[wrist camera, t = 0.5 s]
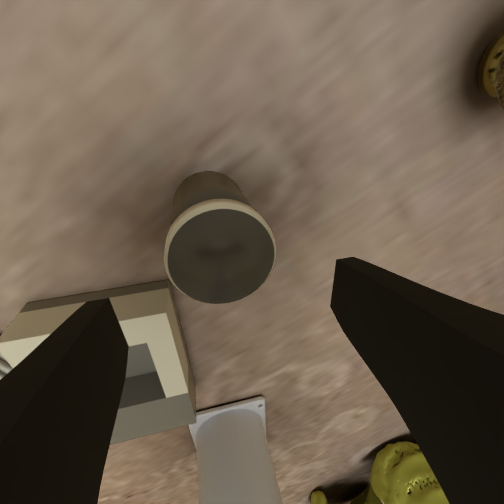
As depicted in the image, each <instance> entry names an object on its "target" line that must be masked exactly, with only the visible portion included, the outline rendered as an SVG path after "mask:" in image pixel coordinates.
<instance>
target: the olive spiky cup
mask: <svg viewBox="0 0 504 504" xmlns="http://www.w3.org/2000/svg"><path fill="white" fill-rule="evenodd" d="M477 82H478V86H479V88H480V90H481V91H482V92H483V93H485V94H486V95H488V96H490V97H493V98H498V100H499V103H500V105H501V106H502V107H503V108H504V32H503V33H502V34H500V35H499V36H498V37H497V38H496V39H495V40H494V41H493V42H492V43H491V44H490V45H489V46H488V48H487V49H486V51H485V53H484V54H483V56H482V59H481V61H480V64H479V67H478V72H477Z"/></svg>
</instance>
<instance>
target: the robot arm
mask: <svg viewBox="0 0 504 504" xmlns="http://www.w3.org/2000/svg"><path fill="white" fill-rule="evenodd" d="M330 307H331V309H332V311H333V313H334V315H335V317H336V319H337V321H338V322H339V324H340V326H341V328H342V330H343V332H344V333H345V335H346V336H347V337H348V339H349V340H350V342H351V343H352V345H353V346H354V348H355V349H356V350H357V352H358V353H359V355H360V356H361V357H362V359H363V360H364V362H365V363H366V364H367V366H368V367H369V369H370V370H371V371H372V373H373V374H374V376H375V377H376V379H377V380H378V381H379V383H380V384H381V386H382V387H383V388H384V390H385V391H386V393H387V394H388V396H389V397H390V399H391V400H392V402H393V403H394V405H395V406H396V408H397V410H398V411H399V413H400V415H401V417H402V418H403V420H404V422H405V423H406V425H407V427H408V429H409V430H410V432H411V434H412V435H413V437H414V439H415V441H416V442H417V444H418V446H419V448H420V450H421V451H422V453H423V455H424V457H425V459H426V461H427V462H428V464H429V466H430V468H431V470H432V471H433V473H434V475H435V477H436V479H437V480H438V482H439V484H440V486H441V488H442V490H443V492H444V494H445V496H446V498H447V500H448V502H449V504H504V315H502V314H499V313H496V312H493V311H490V310H487V309H484V308H481V307H478V306H475V305H472V304H469V303H467V302H464V301H461V300H459V299H456V298H453V297H451V296H448V295H446V294H443V293H440V292H438V291H435V290H433V289H430V288H428V287H425V286H423V285H421V284H418V283H416V282H413V281H411V280H409V279H406V278H404V277H402V276H399V275H397V274H395V273H392V272H390V271H388V270H385V269H383V268H381V267H378V266H376V265H373V264H371V263H369V262H366V261H363V260H361V259H358V258H355V257H349V258H343V259H337V260H336V267H335V274H334V282H333V290H332V297H331V305H330ZM128 349H129V346H128V343H127V341H126V338H125V336H124V334H123V331H122V329H121V326H120V324H119V321H118V319H117V316H116V314H115V311H114V309H113V306H112V304H111V301H110V299H109V298H105V299H99V300H93V301H87V302H85V303H84V304H83V305H82V306H81V307H79V308H78V309H77V310H76V311H75V312H74V313H73V314H72V315H71V316H70V317H68V318H67V319H66V320H65V321H64V322H63V323H62V324H61V325H60V326H59V327H58V328H57V329H56V330H55V331H53V332H52V333H51V334H50V335H49V336H48V337H47V338H46V339H45V340H44V341H43V342H42V343H41V344H39V345H38V346H37V347H36V348H35V349H34V350H33V351H32V352H31V353H30V354H29V355H28V356H26V357H25V358H24V359H23V360H22V361H21V362H20V363H19V364H18V365H17V366H15V367H14V368H13V369H12V370H11V371H10V372H9V373H7V374H6V375H5V376H4V377H3V378H2V379H0V504H97V503H98V496H99V490H100V485H101V480H102V475H103V470H104V466H105V462H106V458H107V454H108V449H109V445H110V441H111V437H112V433H113V429H114V425H115V421H116V417H117V413H118V408H119V404H120V400H121V396H122V392H123V387H124V383H125V377H126V369H127V360H128ZM196 418H197V423H194V424H190V425H188V426H189V429H190V432H191V435H192V439H193V442H194V445H195V448H196V452H197V470H198V497H199V504H283V502H282V498H281V494H280V490H279V486H278V482H277V478H276V474H275V470H274V466H273V462H272V458H271V454H270V450H269V446H268V442H267V438H266V417H265V400H264V397H261V396H260V397H256V398H252V399H248V400H244V401H240V402H236V403H232V404H228V405H224V406H220V407H216V408H212V409H208V410H204V411H200V412H196Z"/></svg>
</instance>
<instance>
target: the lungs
mask: <svg viewBox="0 0 504 504" xmlns="http://www.w3.org/2000/svg"><path fill="white" fill-rule="evenodd" d="M400 459H401V460H400ZM386 460H387V461H386ZM399 461H400V462H399ZM395 464H396V465H395ZM385 468H386V469H385ZM370 482H371V485H369V486H368V487H367V488H366V490H365V491H364V493H363V495H362V494H360V495H359V496H358V497H356V498H355V499H354V500H353V501H352V502H351V503H350V504H383V503H382V502H381V500H382V501H383V502H384V504H449V502H448V500H447V498H446V496H445V494H444V492H443V490H442V488H441V486H440V484H439V482H438V480H437V479H436V477H435V475H434V473H433V471H432V470H431V468H430V466H429V464H428V462H427V461H426V459H425V457H424V455H423V453H422V451H421V450H420V448H419V446H418V444H414V443H412V442H407V441H404V442H396V443H395V444H387V445H386V446H385V448H384V449H382V450H380V451H379V452H378V453H377V455H376V458H375V461H374V463H373V466H372V469H371V477H370ZM311 504H328V502H327V499H326V497H325V495H324V493H323V492H321V491H313V492H312V495H311Z"/></svg>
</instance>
